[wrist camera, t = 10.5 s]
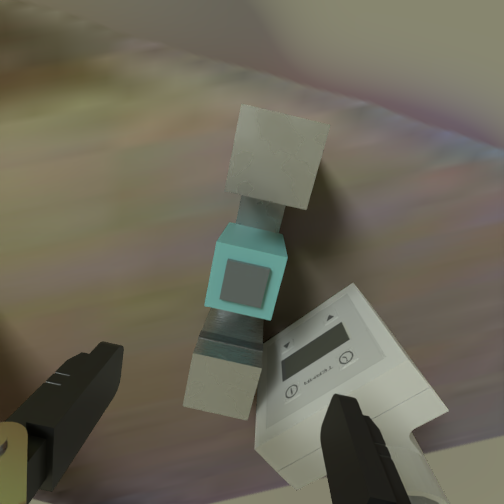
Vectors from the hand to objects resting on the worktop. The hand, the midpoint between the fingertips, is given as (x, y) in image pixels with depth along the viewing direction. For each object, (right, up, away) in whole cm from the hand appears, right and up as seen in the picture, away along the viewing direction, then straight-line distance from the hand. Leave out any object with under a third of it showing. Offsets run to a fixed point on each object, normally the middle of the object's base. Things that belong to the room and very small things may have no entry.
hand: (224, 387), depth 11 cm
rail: (+1, +5, +18) cm, 19 cm away
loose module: (+1, +5, +17) cm, 17 cm away
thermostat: (+11, -7, +21) cm, 25 cm away
